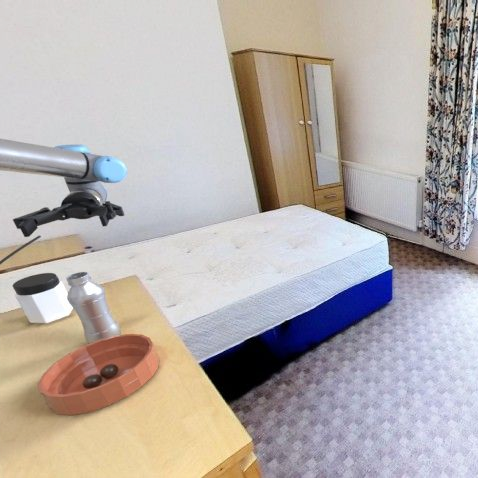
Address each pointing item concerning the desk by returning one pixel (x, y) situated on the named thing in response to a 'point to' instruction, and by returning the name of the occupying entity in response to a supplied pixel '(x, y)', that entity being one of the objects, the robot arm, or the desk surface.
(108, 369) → the bead
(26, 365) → the desk surface
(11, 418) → the desk surface
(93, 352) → the bowl
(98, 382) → the bead
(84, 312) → the plastic bottle
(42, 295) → the jar
